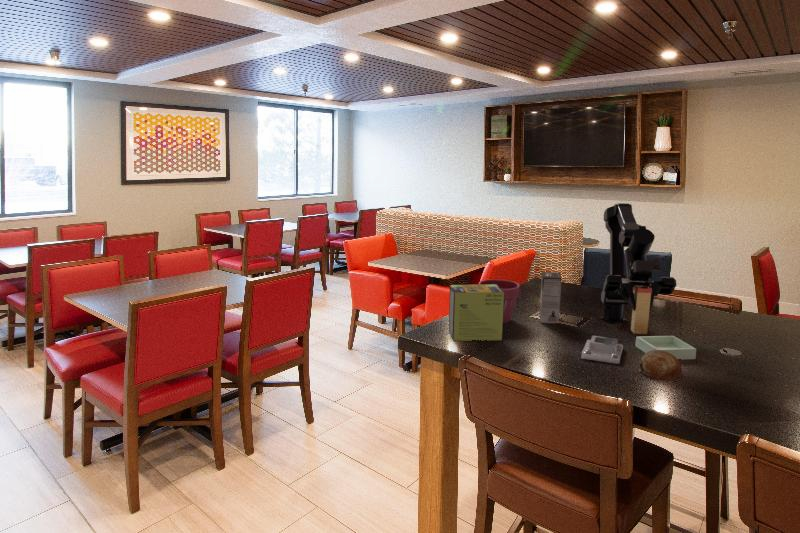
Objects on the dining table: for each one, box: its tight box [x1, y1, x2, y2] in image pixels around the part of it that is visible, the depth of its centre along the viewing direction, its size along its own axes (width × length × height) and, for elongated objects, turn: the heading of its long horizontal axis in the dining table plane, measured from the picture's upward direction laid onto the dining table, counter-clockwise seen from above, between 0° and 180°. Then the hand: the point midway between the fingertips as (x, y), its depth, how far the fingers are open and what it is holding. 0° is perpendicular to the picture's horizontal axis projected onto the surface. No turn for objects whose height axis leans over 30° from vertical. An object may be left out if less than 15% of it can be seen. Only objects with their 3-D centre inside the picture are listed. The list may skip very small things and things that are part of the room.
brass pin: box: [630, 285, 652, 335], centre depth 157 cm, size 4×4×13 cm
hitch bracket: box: [580, 335, 624, 365], centre depth 159 cm, size 13×10×4 cm
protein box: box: [448, 284, 504, 342], centre depth 173 cm, size 10×15×16 cm
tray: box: [634, 335, 697, 361], centre depth 160 cm, size 12×12×3 cm
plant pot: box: [478, 278, 521, 324], centre depth 191 cm, size 14×14×13 cm
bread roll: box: [638, 350, 683, 381], centre depth 145 cm, size 10×10×8 cm
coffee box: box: [539, 271, 563, 324], centre depth 190 cm, size 9×6×16 cm
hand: (642, 310), depth 155 cm, fingers closed on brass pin, 4 cm apart
